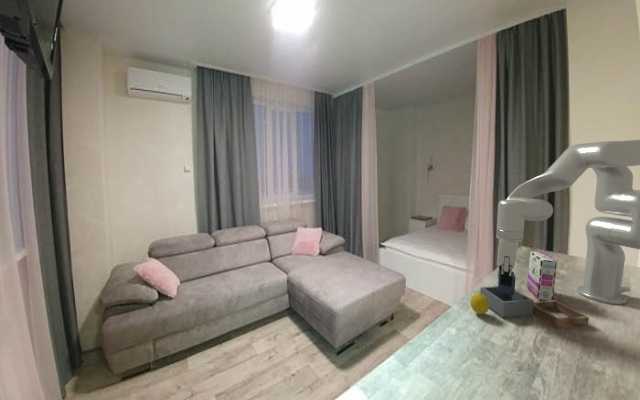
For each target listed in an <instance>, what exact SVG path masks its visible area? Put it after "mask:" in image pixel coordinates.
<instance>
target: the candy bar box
mask: <svg viewBox="0 0 640 400" xmlns="http://www.w3.org/2000/svg"><path fill="white" fill-rule="evenodd" d="M557 263H558V262H557V261H556V260H555V259H554V258H552V257H551V256H549V255H548V254H547V253H545V252H543V251H532V250H530V251H529V262H528V271H527V272H528V275H527V276H528V277H527V286H526V288H527V289H528V291H529V292H531V294H532V295H533V296H534V297H535V298H536V300H537V301H549V300H554V291H555V284H556V283H555V282H556V273H557Z"/></svg>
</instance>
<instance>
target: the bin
mask: <svg viewBox="0 0 640 400" xmlns="http://www.w3.org/2000/svg"><path fill="white" fill-rule="evenodd" d="M479 292H480V293H481V294H482V295H484V296H485V297H486V298H487V299H488V302H489V309H488V310H490V311H492V312H493V313H495V314H496V315H497V316H498V317H500V318H501V319H503V320H505V319H520V318H530V317H533V316H534V314H533V306H534V302H535V300H534V299H532V298H531V297H529V296H527V295H525V294H524V293H522V292H520V291H518V290H516V289H515V293H514V295H508V294H505V293H503V292H500V291H498V285H494V286H481V287H480V291H479Z"/></svg>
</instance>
